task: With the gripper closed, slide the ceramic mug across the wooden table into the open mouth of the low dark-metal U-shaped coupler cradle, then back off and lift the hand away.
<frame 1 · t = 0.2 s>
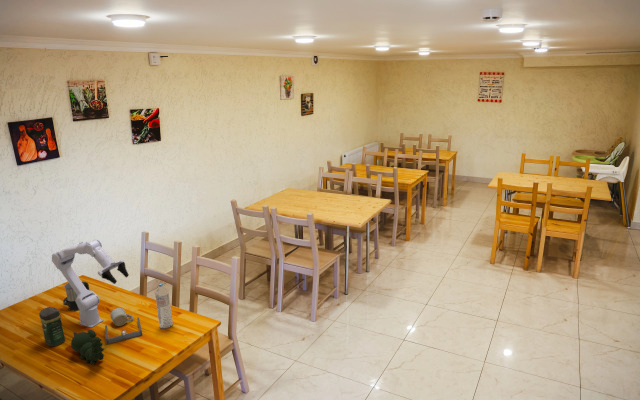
hand: (121, 279, 220), 31 cm above the table, tool tilted 45°, fingers open, 7 cm apart
coupler cradle: (123, 331, 231), on the table
milk frother: (74, 305, 259), on the table
toy figurine: (89, 357, 210), on the table
ceramic mug: (122, 322, 240), on the table
coffee jar: (55, 342, 223), on the table
water bottle: (166, 326, 236), on the table
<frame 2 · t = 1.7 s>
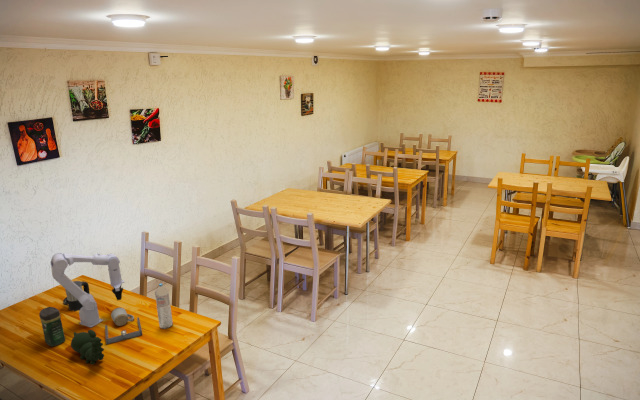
hand: (119, 297, 245), 10 cm above the table, tool pointing down, fingers open, 6 cm apart
nothing on the table moved.
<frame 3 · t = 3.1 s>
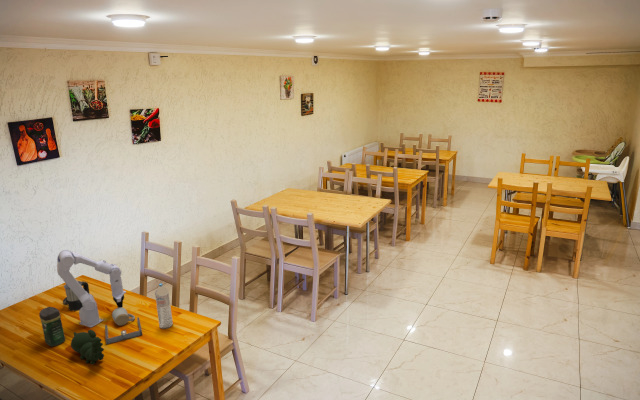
hand: (120, 307, 247), 4 cm above the table, tool pointing down, fingers closed
nothing on the table moved.
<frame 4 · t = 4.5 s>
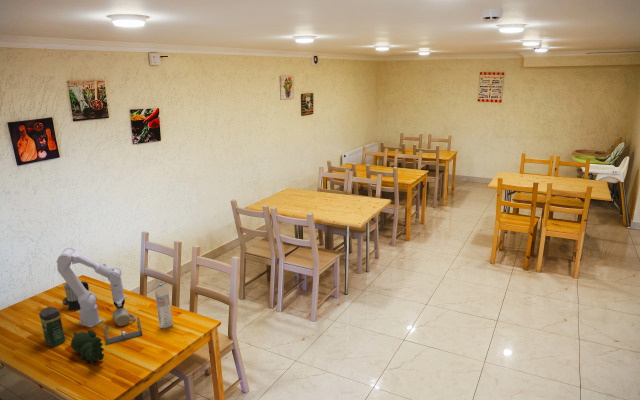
hand: (121, 312, 242), 4 cm above the table, tool pointing down, fingers closed
ceramic mug: (125, 322, 240), on the table, touching gripper
everything else where it was.
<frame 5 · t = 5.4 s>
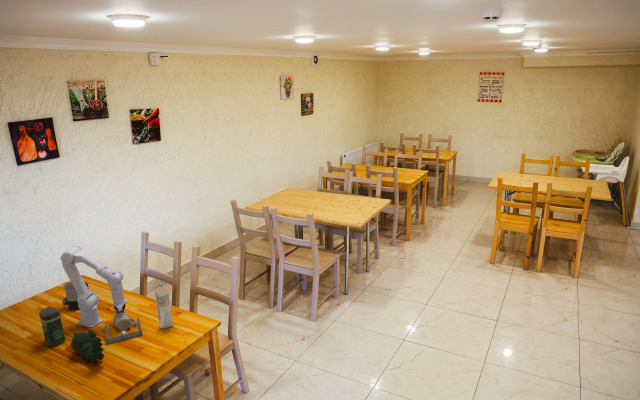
hand: (121, 316, 238), 4 cm above the table, tool pointing down, fingers closed
ceramic mug: (125, 326, 235), on the table, touching gripper
everything else where it was.
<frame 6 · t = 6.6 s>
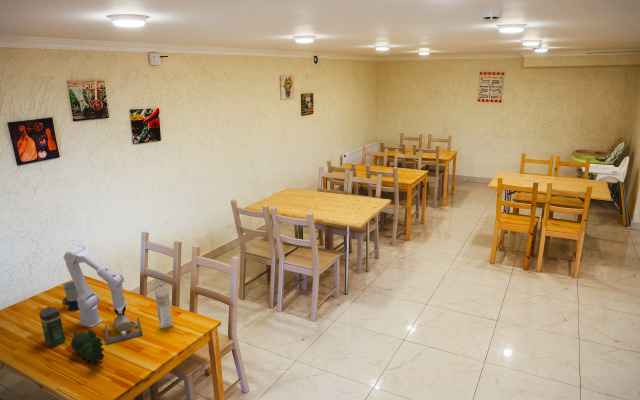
hand: (121, 319, 235), 4 cm above the table, tool pointing down, fingers closed
ceramic mug: (126, 329, 233), on the table, touching gripper
everything else where it was.
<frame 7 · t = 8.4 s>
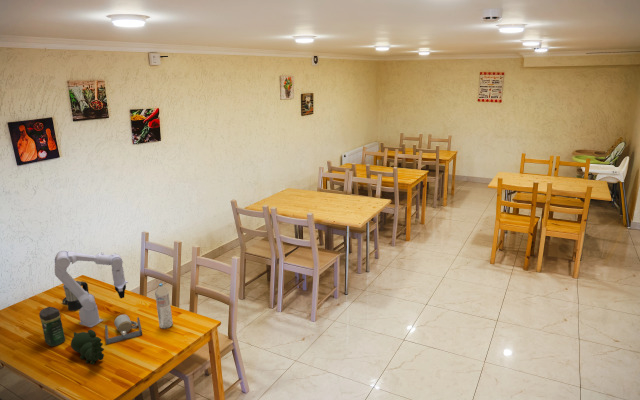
hand: (122, 297, 245), 10 cm above the table, tool pointing down, fingers closed
ceramic mug: (127, 329, 233), on the table
everything else where it was.
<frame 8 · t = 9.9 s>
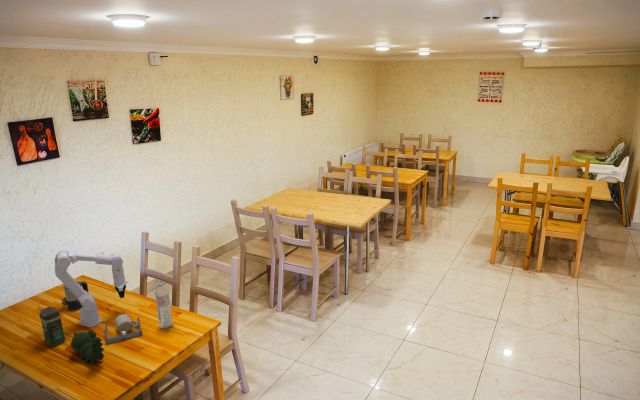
hand: (122, 297, 245), 10 cm above the table, tool pointing down, fingers closed
nothing on the table moved.
at the end: ceramic mug 2.5 cm from the coupler cradle (horizontally); ceramic mug tilted 0°; ceramic mug moved 8.8 cm from its start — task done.
